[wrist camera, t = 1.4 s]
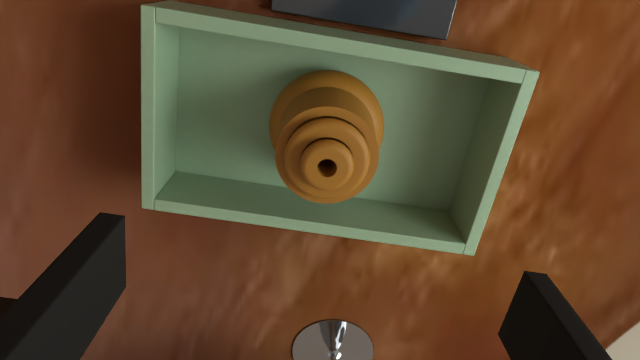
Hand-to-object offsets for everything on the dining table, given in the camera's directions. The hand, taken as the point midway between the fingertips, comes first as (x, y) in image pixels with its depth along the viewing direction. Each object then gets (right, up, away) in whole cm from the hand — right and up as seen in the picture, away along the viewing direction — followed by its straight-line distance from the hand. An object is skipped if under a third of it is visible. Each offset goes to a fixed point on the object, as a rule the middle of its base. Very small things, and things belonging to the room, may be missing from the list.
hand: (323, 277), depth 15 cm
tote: (0, +7, +16) cm, 17 cm away
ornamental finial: (0, +7, +16) cm, 17 cm away
